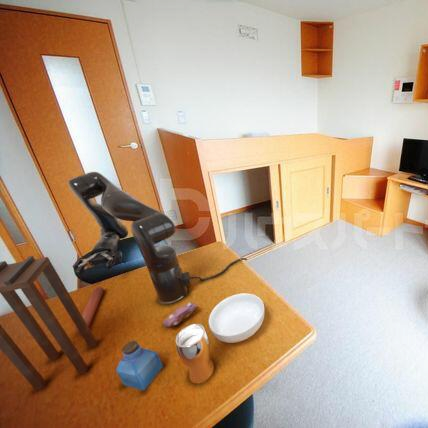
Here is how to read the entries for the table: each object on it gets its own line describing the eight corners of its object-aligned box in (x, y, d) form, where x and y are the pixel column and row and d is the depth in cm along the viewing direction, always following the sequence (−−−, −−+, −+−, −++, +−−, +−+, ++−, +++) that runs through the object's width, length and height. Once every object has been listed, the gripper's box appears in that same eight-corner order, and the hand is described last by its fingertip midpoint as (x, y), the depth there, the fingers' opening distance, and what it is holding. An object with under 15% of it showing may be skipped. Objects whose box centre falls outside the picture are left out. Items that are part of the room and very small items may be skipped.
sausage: (95, 292, 91) (93, 286, 90) (105, 290, 93) (103, 284, 92) (75, 336, 75) (72, 329, 73) (88, 332, 76) (84, 326, 75)
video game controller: (169, 334, 77) (170, 325, 73) (161, 324, 78) (161, 314, 74) (197, 313, 85) (199, 304, 81) (189, 304, 86) (191, 295, 82)
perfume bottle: (144, 390, 61) (128, 360, 56) (124, 385, 62) (107, 355, 57) (163, 366, 67) (150, 337, 61) (144, 362, 68) (130, 333, 63)
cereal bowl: (244, 300, 89) (242, 285, 86) (276, 322, 81) (275, 307, 78) (201, 332, 77) (197, 316, 74) (234, 362, 68) (230, 346, 65)
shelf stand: (97, 342, 73) (45, 253, 59) (86, 372, 65) (24, 277, 51) (53, 356, 69) (-14, 264, 54) (35, 390, 61) (-48, 292, 47)
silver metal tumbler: (221, 368, 66) (211, 331, 60) (197, 391, 61) (184, 353, 55) (205, 355, 70) (195, 318, 63) (182, 375, 64) (168, 338, 58)
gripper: (79, 246, 98) (64, 268, 85) (122, 238, 104) (113, 257, 91) (87, 260, 101) (73, 284, 88) (128, 252, 107) (120, 273, 94)
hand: (93, 270), depth 90 cm, fingers open, 8 cm apart
